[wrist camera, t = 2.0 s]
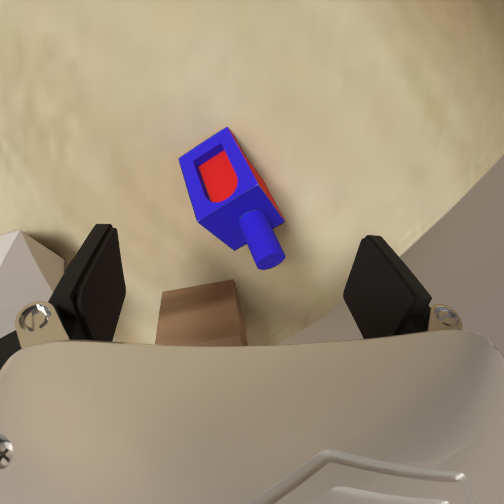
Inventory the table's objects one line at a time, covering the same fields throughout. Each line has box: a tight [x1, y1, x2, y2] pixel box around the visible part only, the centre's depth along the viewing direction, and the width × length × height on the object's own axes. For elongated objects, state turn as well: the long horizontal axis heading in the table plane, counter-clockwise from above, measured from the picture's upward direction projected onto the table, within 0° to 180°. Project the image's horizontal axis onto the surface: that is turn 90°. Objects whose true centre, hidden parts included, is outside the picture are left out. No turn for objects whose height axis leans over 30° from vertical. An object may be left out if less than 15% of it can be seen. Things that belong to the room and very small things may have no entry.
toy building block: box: [179, 127, 285, 270], centre depth 14 cm, size 3×4×7 cm
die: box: [0, 230, 65, 338], centre depth 14 cm, size 8×9×10 cm
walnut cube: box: [155, 279, 248, 346], centre depth 19 cm, size 5×5×5 cm
